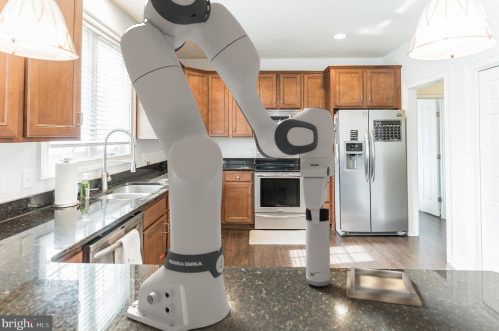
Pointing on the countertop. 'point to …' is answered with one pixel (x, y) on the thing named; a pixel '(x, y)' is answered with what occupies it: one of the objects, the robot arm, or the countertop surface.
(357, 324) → the countertop surface
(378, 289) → the square metal tray
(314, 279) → the travel mug
